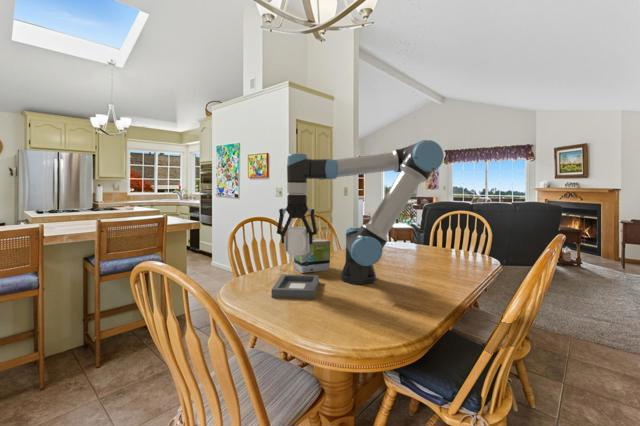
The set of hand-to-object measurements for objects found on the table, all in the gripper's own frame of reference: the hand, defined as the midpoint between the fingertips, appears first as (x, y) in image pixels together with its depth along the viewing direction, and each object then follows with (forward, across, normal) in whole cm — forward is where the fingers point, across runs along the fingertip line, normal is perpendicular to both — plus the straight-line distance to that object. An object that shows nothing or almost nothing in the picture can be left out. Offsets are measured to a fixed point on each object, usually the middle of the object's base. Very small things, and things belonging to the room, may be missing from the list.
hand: (297, 251), depth 128 cm
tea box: (+15, -3, -30) cm, 34 cm away
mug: (+1, -1, 0) cm, 2 cm away
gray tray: (+15, 0, 0) cm, 15 cm away
